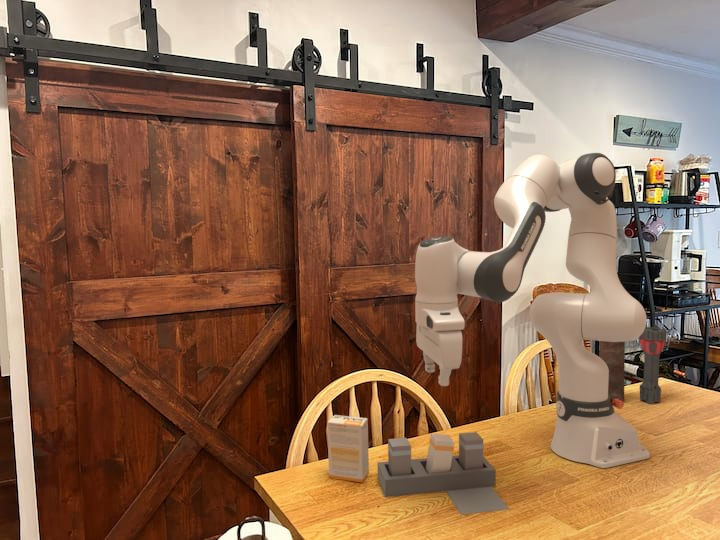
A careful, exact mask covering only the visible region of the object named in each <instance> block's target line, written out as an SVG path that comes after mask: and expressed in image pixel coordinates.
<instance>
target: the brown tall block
mask: <svg viewBox="0 0 720 540" xmlns="http://www.w3.org/2000/svg"><path fill="white" fill-rule="evenodd" d="M598 342H599V344H598V351H599V352H598V356H599V357H600V358H601V359H602V360H603V361H604V362H605V363H606V364H607V366H608V369H609V381H608V396H610V397H612V398H613V400H614V399H619V400H620V401H623V403H625V358H626V357H625V356H626V355H625V354H626V353H625V350H626V347H625V345H626V341H625V342H607V341H598Z"/></svg>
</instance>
